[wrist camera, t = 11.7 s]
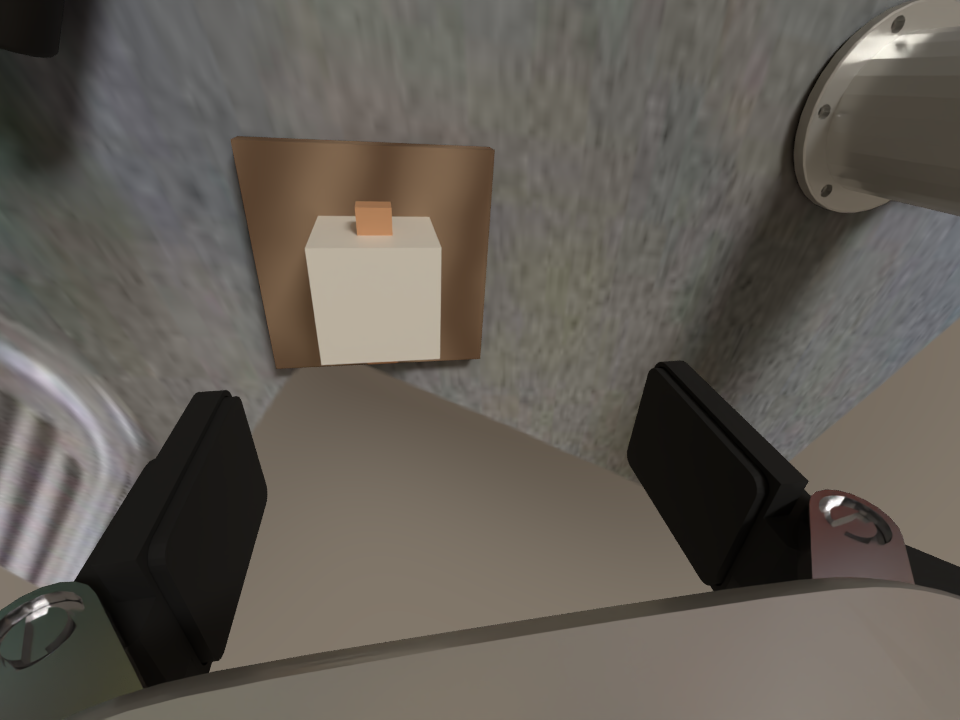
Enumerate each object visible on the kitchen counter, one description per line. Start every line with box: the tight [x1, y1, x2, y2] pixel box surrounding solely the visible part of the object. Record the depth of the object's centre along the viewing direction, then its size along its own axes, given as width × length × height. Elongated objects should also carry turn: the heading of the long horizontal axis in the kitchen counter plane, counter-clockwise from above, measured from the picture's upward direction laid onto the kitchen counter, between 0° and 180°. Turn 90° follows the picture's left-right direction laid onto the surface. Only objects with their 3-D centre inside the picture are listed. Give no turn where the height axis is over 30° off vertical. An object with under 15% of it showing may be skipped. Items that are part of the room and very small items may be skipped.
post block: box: [231, 136, 495, 369], centre depth 27 cm, size 14×14×6 cm
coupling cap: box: [305, 201, 441, 365], centre depth 26 cm, size 9×6×6 cm
